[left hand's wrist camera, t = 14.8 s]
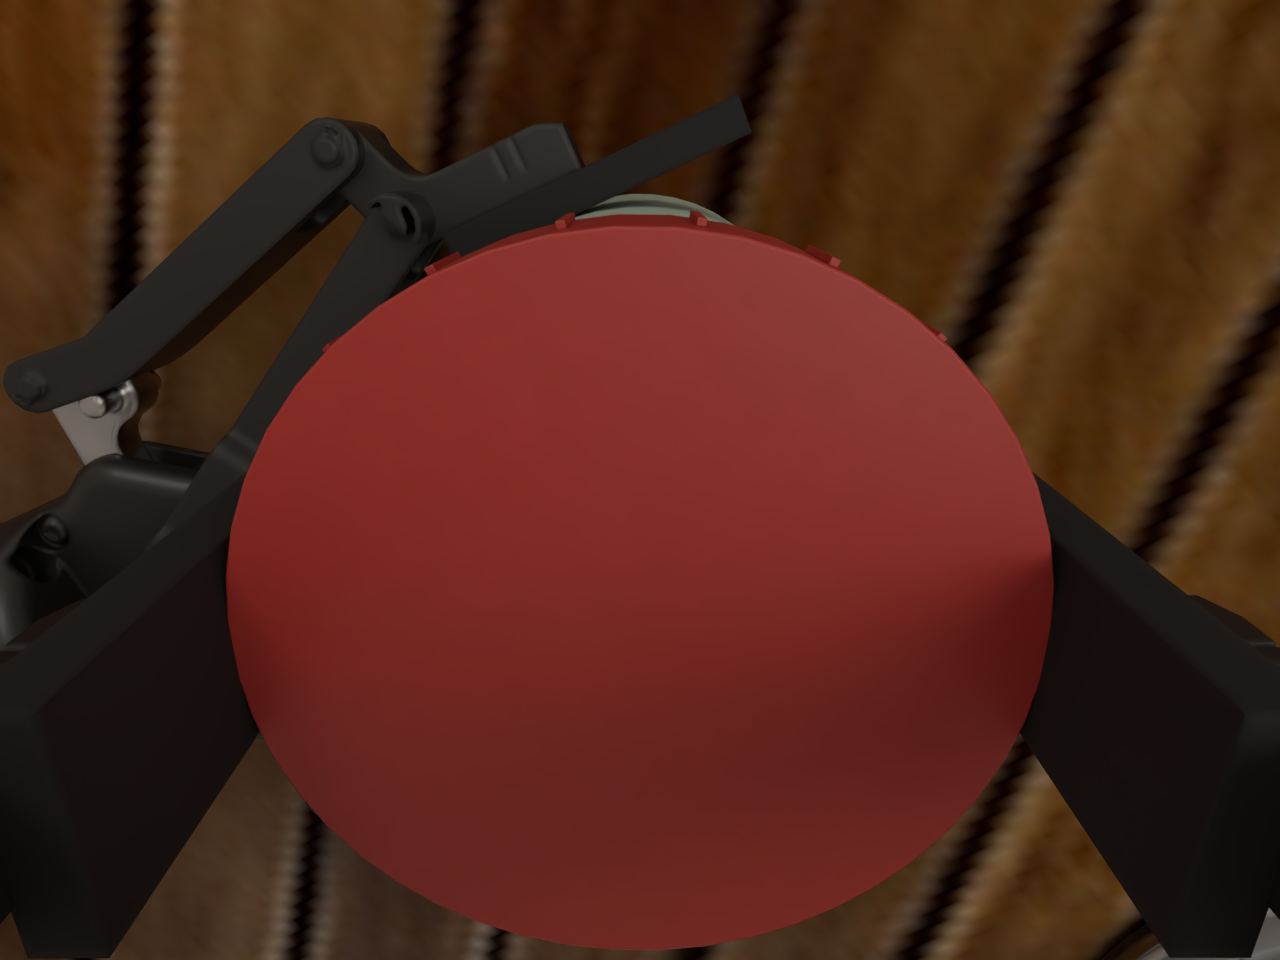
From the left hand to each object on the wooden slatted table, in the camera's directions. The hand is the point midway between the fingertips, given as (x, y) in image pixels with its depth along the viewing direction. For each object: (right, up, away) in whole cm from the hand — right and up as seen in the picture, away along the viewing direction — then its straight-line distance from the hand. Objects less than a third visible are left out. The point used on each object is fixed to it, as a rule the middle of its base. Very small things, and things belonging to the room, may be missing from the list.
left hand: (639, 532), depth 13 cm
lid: (0, -1, -3) cm, 3 cm away
